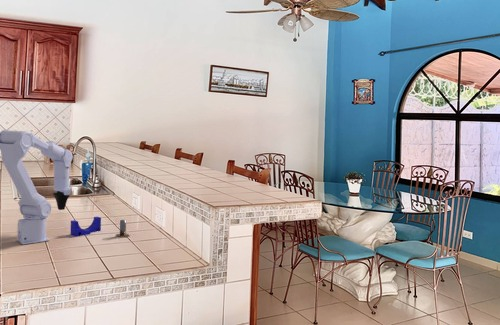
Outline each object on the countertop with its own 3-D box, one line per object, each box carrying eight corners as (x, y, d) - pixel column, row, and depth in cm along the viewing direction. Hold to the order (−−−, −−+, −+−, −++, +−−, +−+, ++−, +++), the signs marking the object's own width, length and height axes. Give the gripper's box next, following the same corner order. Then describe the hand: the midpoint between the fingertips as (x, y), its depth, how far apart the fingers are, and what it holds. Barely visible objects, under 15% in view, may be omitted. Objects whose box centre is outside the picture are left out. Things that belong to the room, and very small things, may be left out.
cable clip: (76, 237, 162) (76, 222, 161) (70, 235, 164) (70, 220, 164) (102, 231, 171) (103, 218, 171) (96, 229, 174) (96, 216, 173)
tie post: (120, 237, 163) (120, 222, 163) (116, 235, 166) (116, 220, 166) (129, 236, 166) (129, 220, 165) (125, 234, 169) (125, 218, 168)
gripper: (77, 179, 164) (77, 211, 165) (65, 174, 174) (65, 205, 175) (59, 180, 159) (59, 213, 160) (48, 175, 169) (48, 207, 171)
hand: (61, 209), depth 167 cm, fingers closed
